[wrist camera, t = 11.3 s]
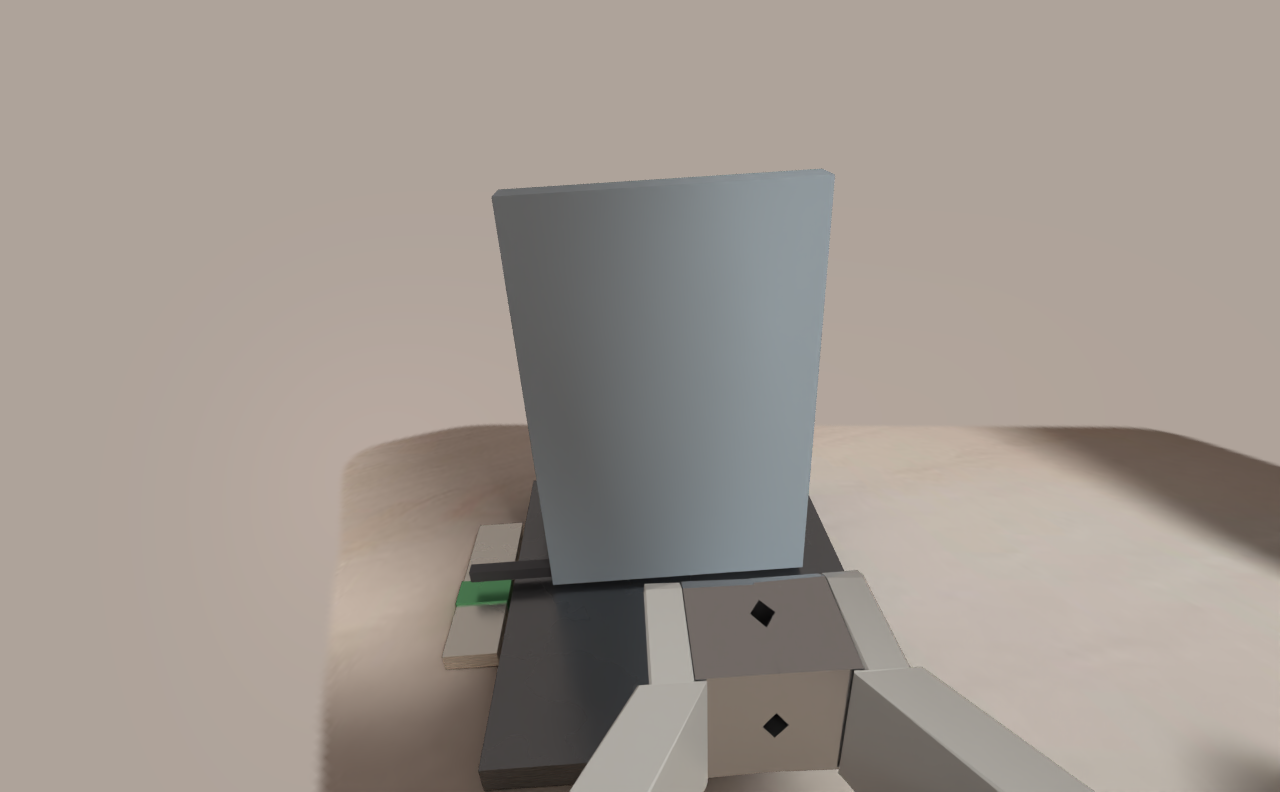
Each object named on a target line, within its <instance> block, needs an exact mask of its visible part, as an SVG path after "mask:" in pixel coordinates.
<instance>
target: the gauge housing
mask: <svg viewBox="0 0 1280 792" xmlns="http://www.w3.org/2000/svg"><path fill="white" fill-rule="evenodd" d="M541 559H549V555H548V549H547V543H546V536H545V530H544V524H543V517H542V511H541V505H540V499H539V492H538V486H537V481H534V482H533V487H532V493H531V498H530V503H529V508H528V513H527V519H526V524H525V529H524V528H523V523H510V524H496V525H482V526H480V528H479V531H478V535H477V538H476V542H475V545H474V549H473V552H472V555H471V559H470V562H469V566H468V569H467V573H466V576H465V580H464V581H463V582H462V584H461V587H460V591H459V594H458V597H457V601H456V611H455V614H454V617H453V621H452V624H451V628H450V631H449V635H448V638H447V641H446V645H445V648H444V652H443V655H442V659H443V662H444V666H445V669H446V670H447V669H461V668H475V667H489V666H498V671H497V676H496V681H495V686H494V692H493V697H492V702H491V707H490V713H489V718H488V723H487V728H486V733H485V739H484V744H483V749H482V754H481V760H480V765H479V770H478V771H479V775H480V778H481V782H482V786H483V789H484V791H491V790H504V789H517V788H531V787H544V786H557V785H571V784H574V783H575V782H576V780H577V779H578V777H579V776H580V774H581V772H582V771H583V769H584V768H585V766H586V765H587V763H588V762H589V760H590V759H591V757H592V755H593V754H594V752H595V751H596V749H597V748H598V746H599V745H600V743H601V741H602V740H603V738H604V737H605V735H606V734H607V732H608V731H609V729H610V728H611V726H612V724H613V723H614V721H615V720H616V718H617V717H618V715H619V714H620V712H621V711H622V709H623V707H624V706H625V704H626V703H627V701H628V700H629V698H630V697H631V695H632V694H633V692H634V690H635V689H636V687H637V686H638V685H648V684H649V676H648V658H647V641H646V624H645V607H644V584H654V583H680V585H681V582H685V581H710V580H735V579H750V578H764V577H777V576H791V575H805V574H821V573H828V572H841V571H844V569H843V567H842V565H841V563H840V561H839V559H838V557H837V555H836V552H835V550H834V548H833V546H832V544H831V542H830V540H829V537H828V535H827V533H826V531H825V529H824V527H823V525H822V523H821V520H820V518H819V516H818V514H817V512H816V510H815V508H814V505H813V503H812V501H811V499H810V497H809V495H808V506H807V519H806V531H805V543H804V555H803V567H797V568H783V569H769V570H755V571H741V572H727V573H713V574H699V575H685V576H671V577H657V578H643V579H629V580H615V581H601V582H587V583H573V584H559V585H553V580H552V577H542V578H528V579H514V580H500V581H485V582H471V580H470V576H469V571H470V568H471V564H484V563H499V562H513V561H527V560H541Z"/></svg>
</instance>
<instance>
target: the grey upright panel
mask: <svg viewBox="0 0 1280 792" xmlns="http://www.w3.org/2000/svg"><path fill="white" fill-rule="evenodd" d="M834 180H835V175H834V174H833V173H830V172H828V171H826V170H824V169H810V170H796V171H779V172H765V173H749V174H733V175H718V176H703V177H688V178H672V179H656V180H640V181H625V182H609V183H594V184H578V185H563V186H547V187H532V188H516V189H501V190H498V191H497V192H496V193H495V194H494V195H493V196H492V203H493V209H494V215H495V221H496V228H497V234H498V240H499V247H500V253H501V259H502V265H503V272H504V278H505V285H506V291H507V297H508V304H509V310H510V316H511V322H512V329H513V335H514V341H515V348H516V353H517V360H518V366H519V372H520V379H521V385H522V391H523V398H524V403H525V411H526V417H527V423H528V429H529V436H530V442H531V448H532V455H533V461H534V467H535V473H536V480H537V486H538V492H539V499H540V505H541V511H542V517H543V524H544V530H545V536H546V543H547V549H548V555H549V559H541V560H527V561H513V562H499V563H484V564H471V568H470V571H469V576H470V580H471V582H485V581H500V580H514V579H528V578H542V577H552V580H553V585H559V584H573V583H587V582H601V581H615V580H629V579H643V578H657V577H671V576H685V575H699V574H713V573H727V572H741V571H755V570H769V569H783V568H797V567H803V555H804V543H805V531H806V519H807V506H808V494H809V482H810V470H811V458H812V446H813V434H814V422H815V410H816V397H817V385H818V372H819V361H820V349H821V337H822V325H823V313H824V301H825V289H826V276H827V264H828V253H829V240H830V228H831V216H832V204H833V191H834Z"/></svg>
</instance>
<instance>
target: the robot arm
mask: <svg viewBox="0 0 1280 792" xmlns="http://www.w3.org/2000/svg"><path fill="white" fill-rule="evenodd" d="M644 607H645V624H646V641H647V658H648V676H649V684H648V685H638V686H637V687H636V689H635V690H634V692H633V694H632V695H631V697H630V698H629V700H628V701H627V703H626V704H625V706H624V707H623V709H622V711H621V712H620V714H619V715H618V717H617V718H616V720H615V721H614V723H613V724H612V726H611V728H610V729H609V731H608V732H607V734H606V735H605V737H604V738H603V740H602V741H601V743H600V745H599V746H598V748H597V749H596V751H595V752H594V754H593V755H592V757H591V759H590V760H589V762H588V763H587V765H586V766H585V768H584V769H583V771H582V772H581V774H580V776H579V777H578V779H577V780H576V782H575V783H574V785H573V786H572V788H571V789H570V791H569V792H704V791H705V788H706V786H707V783H708V778H714V777H724V776H734V775H744V774H755V773H765V772H781V771H807V770H833V769H839V772H838V773H839V774H840V775H841V776H842V778H843V779H844V780H845V781H846V782H847V783H848V784H849V785H850V787H851V788H852V789H853V790H854V791H855V792H1095V791H1093V790H1092V789H1091V788H1089V787H1088V786H1087V785H1085V784H1084V783H1082V782H1081V781H1080V780H1078V779H1077V778H1075V777H1074V776H1073V775H1071V774H1070V773H1069V772H1067V771H1066V770H1064V769H1063V768H1062V767H1060V766H1059V765H1057V764H1056V763H1055V762H1053V761H1052V760H1051V759H1049V758H1048V757H1046V756H1045V755H1044V754H1042V753H1041V752H1039V751H1038V750H1037V749H1035V748H1034V747H1033V746H1031V745H1030V744H1028V743H1027V742H1026V741H1024V740H1023V739H1021V738H1020V737H1019V736H1017V735H1016V734H1015V733H1013V732H1012V731H1010V730H1009V729H1008V728H1006V727H1005V726H1003V725H1002V724H1001V723H999V722H998V721H997V720H995V719H994V718H992V717H991V716H990V715H988V714H987V713H985V712H984V711H983V710H981V709H980V708H979V707H977V706H976V705H974V704H973V703H972V702H970V701H969V700H967V699H966V698H965V697H963V696H962V695H961V694H959V693H958V692H956V691H955V690H954V689H952V688H951V687H949V686H948V685H947V684H945V683H944V682H943V681H941V680H940V679H938V678H937V677H936V676H934V675H933V674H931V673H930V672H929V671H927V670H926V669H925V668H923V667H910V665H909V664H908V662H907V660H906V658H905V656H904V654H903V652H902V650H901V648H900V646H899V644H898V642H897V640H896V638H895V636H894V634H893V632H892V630H891V628H890V626H889V624H888V622H887V620H886V619H885V617H884V615H883V613H882V611H881V609H880V607H879V605H878V603H877V601H876V599H875V597H874V595H873V593H872V591H871V589H870V587H869V585H868V583H867V581H866V579H865V577H864V575H863V574H861V573H860V572H859V571H858V570H854V571H841V572H828V573H821V574H805V575H791V576H777V577H764V578H750V579H735V580H710V581H685V582H681V585H680V583H654V584H644Z"/></svg>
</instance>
